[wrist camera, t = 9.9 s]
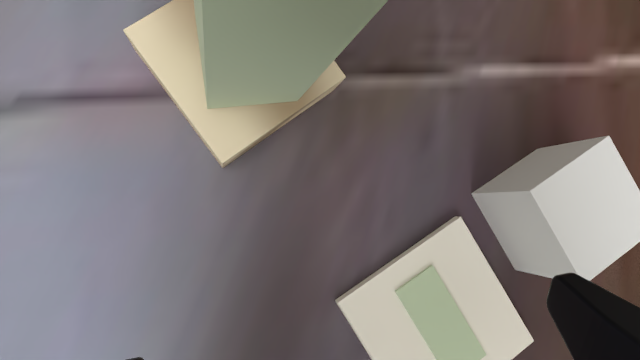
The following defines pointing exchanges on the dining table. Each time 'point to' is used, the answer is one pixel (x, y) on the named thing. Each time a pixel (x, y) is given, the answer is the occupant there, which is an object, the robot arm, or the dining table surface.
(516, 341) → the card
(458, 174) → the dining table surface
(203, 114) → the maple base
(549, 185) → the grey cube
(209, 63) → the sage block
